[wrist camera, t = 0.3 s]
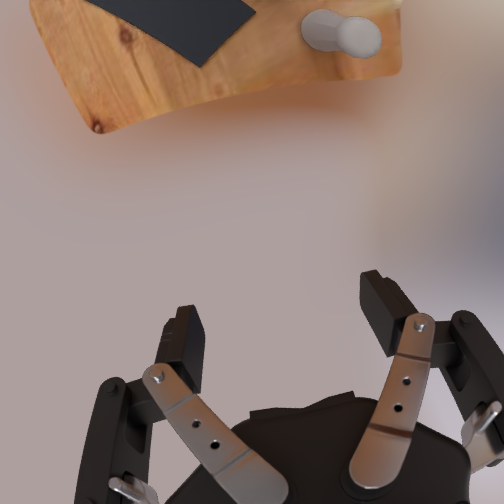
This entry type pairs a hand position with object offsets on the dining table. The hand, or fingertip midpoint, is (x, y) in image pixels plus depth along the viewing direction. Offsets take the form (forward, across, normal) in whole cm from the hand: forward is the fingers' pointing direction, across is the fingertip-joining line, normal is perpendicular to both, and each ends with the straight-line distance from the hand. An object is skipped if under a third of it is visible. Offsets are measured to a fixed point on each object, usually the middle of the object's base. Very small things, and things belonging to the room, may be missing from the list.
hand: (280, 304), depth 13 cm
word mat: (+23, +6, -26) cm, 35 cm away
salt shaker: (+25, -12, -19) cm, 34 cm away
